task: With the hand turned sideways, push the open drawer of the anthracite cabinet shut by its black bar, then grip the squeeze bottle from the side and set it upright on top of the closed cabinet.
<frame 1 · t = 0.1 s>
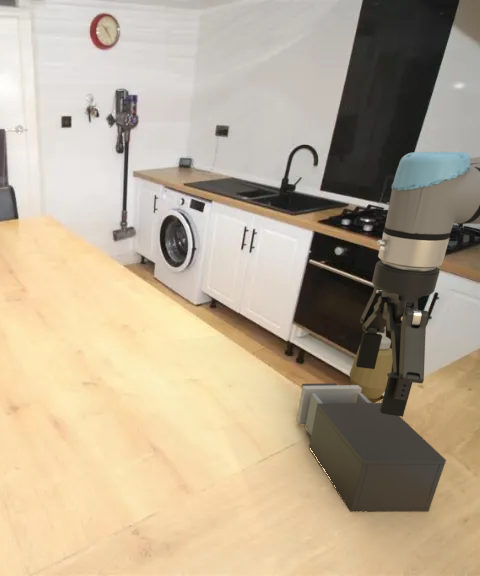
hand: (376, 388, 67), 19 cm above the table, tool pointing down, fingers open, 13 cm apart
cabinet: (363, 477, 74), on the table
squeeze bottle: (365, 392, 98), on the table
drawer: (338, 417, 81), point 5 cm above the table, slide at 6.0 cm
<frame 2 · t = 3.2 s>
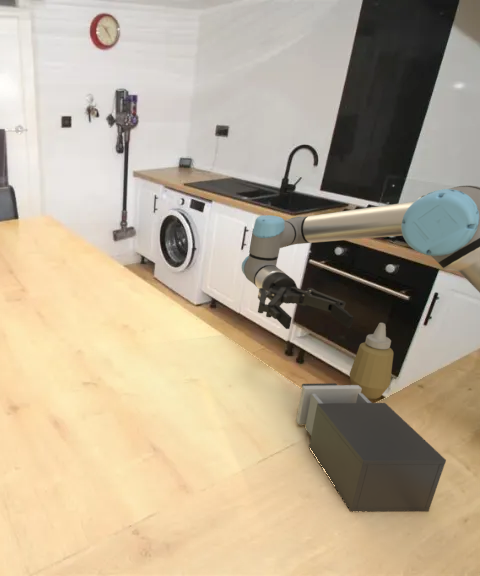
hand: (320, 323, 88), 20 cm above the table, tool horizontal, fingers open, 13 cm apart
nothing on the table moved.
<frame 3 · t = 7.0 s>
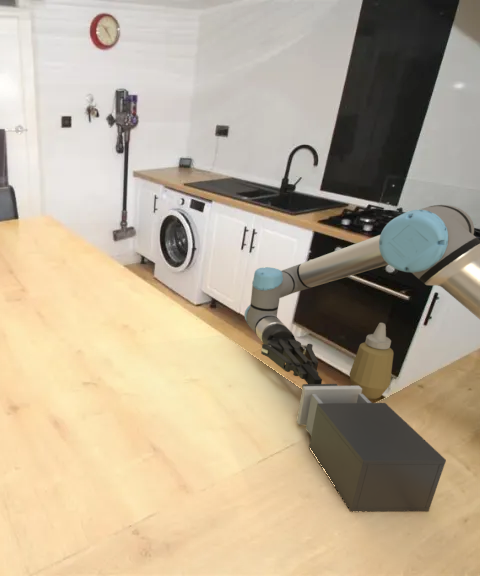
hand: (317, 384, 89), 7 cm above the table, tool horizontal, fingers closed
drawer: (339, 418, 81), point 5 cm above the table, slide at 5.8 cm, touching gripper
everything else where it was.
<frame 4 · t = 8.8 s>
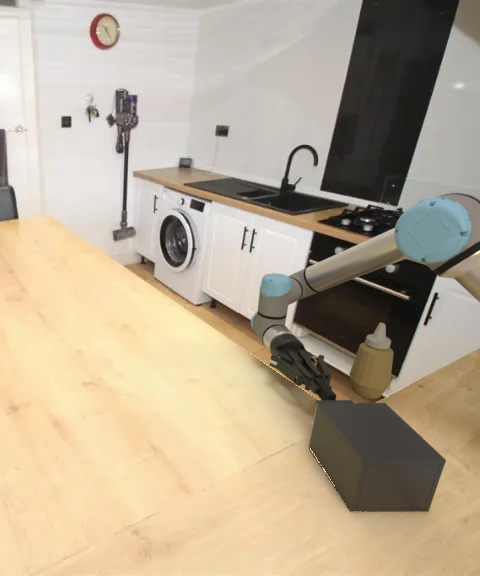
hand: (331, 400, 84), 7 cm above the table, tool horizontal, fingers closed
drawer: (356, 438, 76), point 5 cm above the table, slide at 0.0 cm, touching cabinet, gripper
everything else where it was.
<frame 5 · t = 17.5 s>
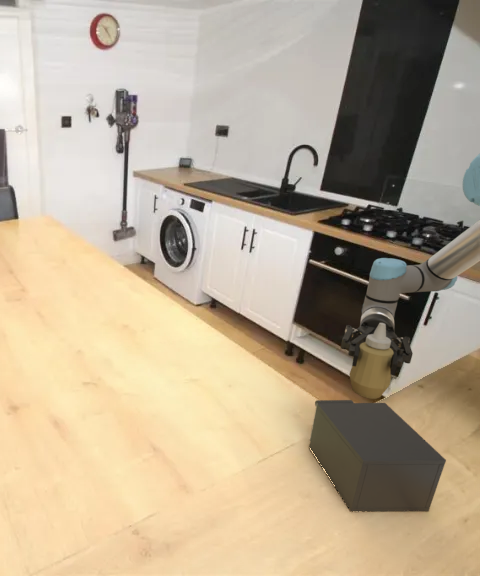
hand: (374, 365, 90), 10 cm above the table, tool horizontal, fingers closed on squeeze bottle, 6 cm apart
squeeze bottle: (365, 392, 98), on the table, touching gripper
drawer: (356, 438, 76), point 5 cm above the table, slide at 0.0 cm, touching cabinet
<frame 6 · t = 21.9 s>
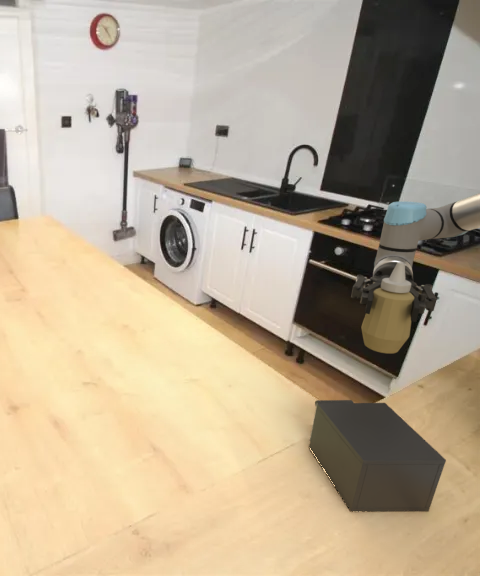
hand: (391, 311, 76), 27 cm above the table, tool horizontal, fingers closed on squeeze bottle, 6 cm apart
squeeze bottle: (380, 348, 84), point 17 cm above the table, touching gripper
everything else where it was.
when the fingers open (21 cm above the table, at t = 26.6 s): squeeze bottle stays where it is, resting on cabinet.
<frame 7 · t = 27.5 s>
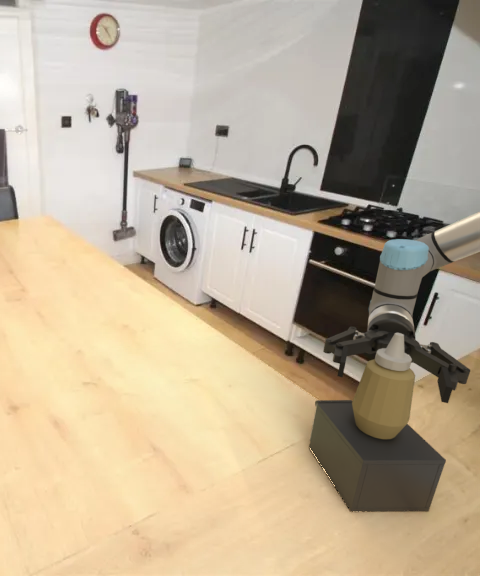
hand: (391, 381, 64), 22 cm above the table, tool horizontal, fingers open, 13 cm apart
squeeze bottle: (374, 429, 70), point 10 cm above the table, touching cabinet
everything else where it was.
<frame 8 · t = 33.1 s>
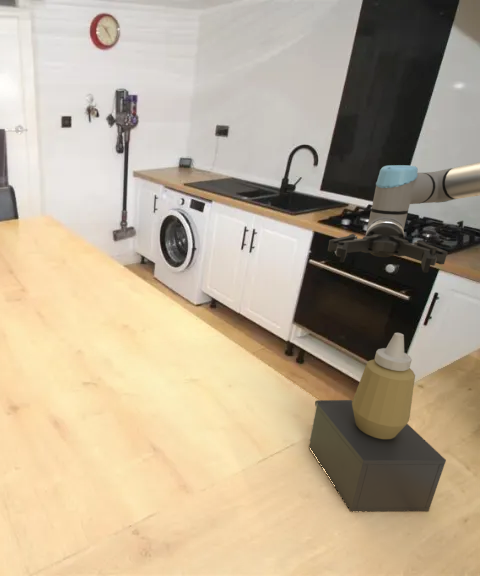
hand: (383, 260, 79), 35 cm above the table, tool horizontal, fingers open, 13 cm apart
nothing on the table moved.
at the end: drawer slide at 0.0 cm; squeeze bottle inside the target area on the cabinet (0.0 cm from its centre), point 10.4 cm above the cabinet's base; squeeze bottle tilted 0° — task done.
